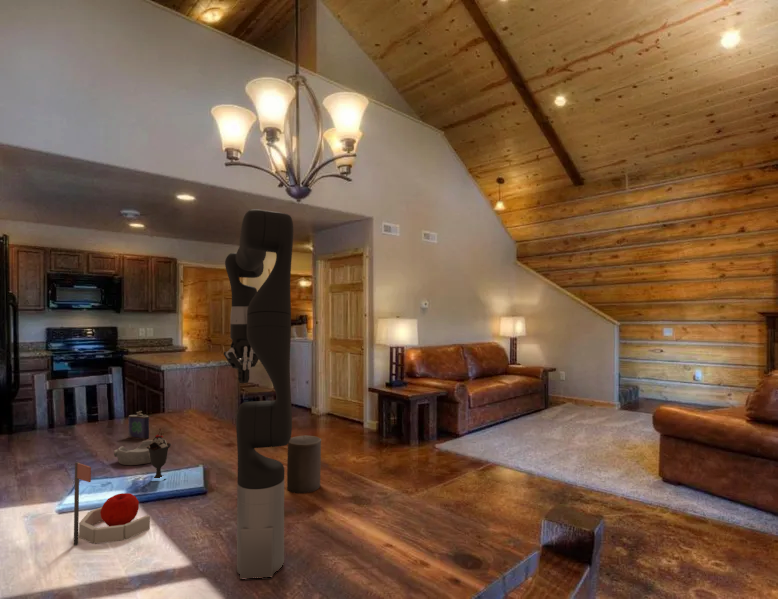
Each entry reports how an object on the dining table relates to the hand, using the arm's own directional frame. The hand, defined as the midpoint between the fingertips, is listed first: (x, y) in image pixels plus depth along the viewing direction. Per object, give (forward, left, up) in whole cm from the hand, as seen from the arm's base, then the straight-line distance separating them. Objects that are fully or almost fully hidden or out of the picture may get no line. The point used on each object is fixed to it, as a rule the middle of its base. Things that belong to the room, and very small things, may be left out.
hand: (243, 382), depth 128 cm
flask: (+58, +54, -31) cm, 85 cm away
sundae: (+12, +28, -31) cm, 44 cm away
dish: (+31, +41, -31) cm, 60 cm away
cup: (-21, +27, -31) cm, 46 cm away
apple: (-17, +25, -31) cm, 44 cm away
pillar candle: (+2, -17, -31) cm, 36 cm away
